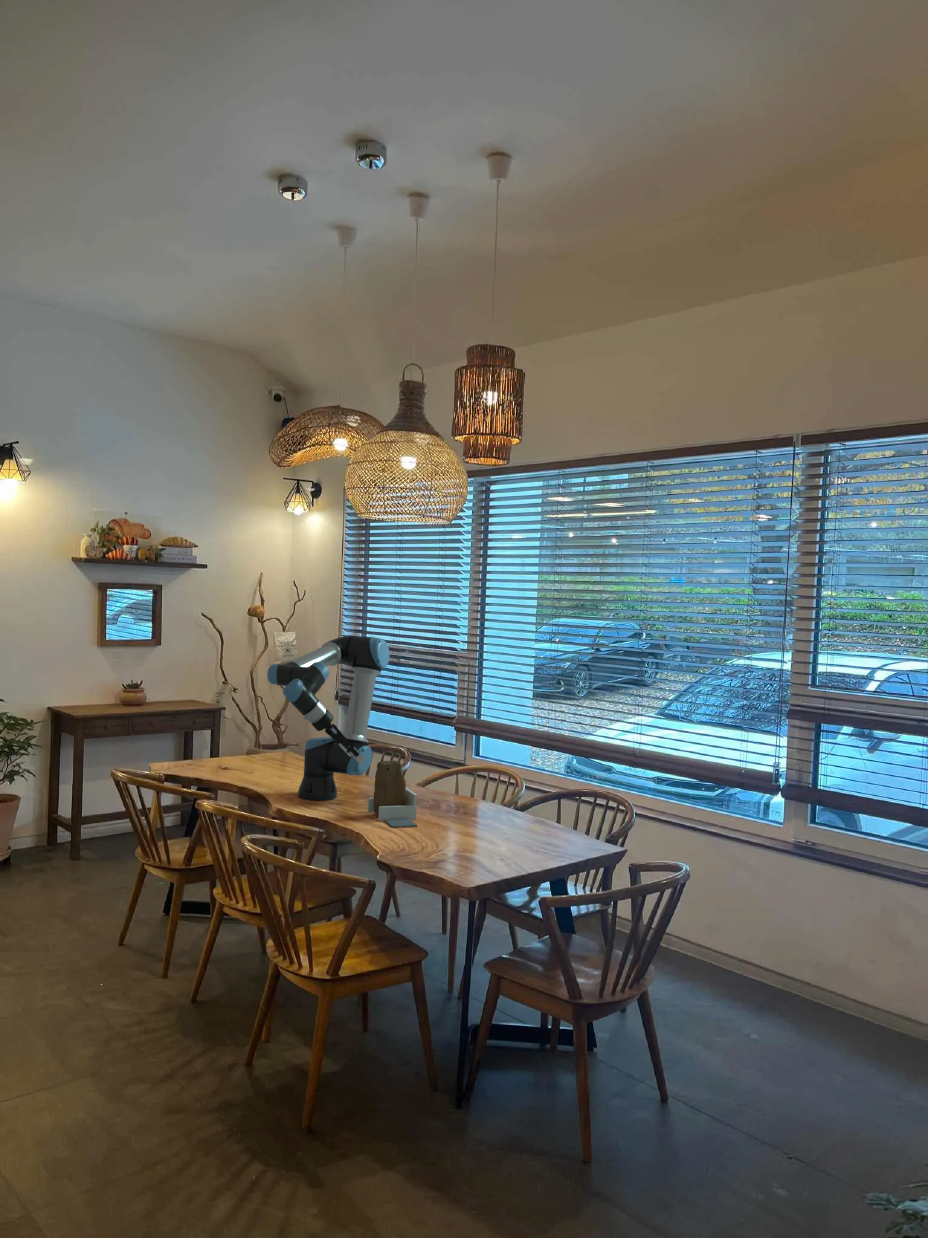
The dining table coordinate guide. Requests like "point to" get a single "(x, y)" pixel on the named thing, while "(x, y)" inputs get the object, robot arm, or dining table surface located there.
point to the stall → (397, 808)
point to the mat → (400, 823)
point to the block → (389, 785)
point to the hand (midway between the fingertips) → (357, 758)
